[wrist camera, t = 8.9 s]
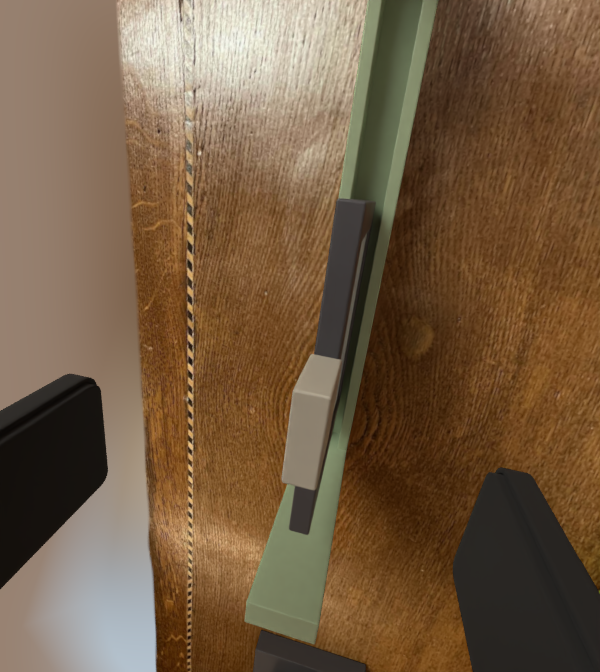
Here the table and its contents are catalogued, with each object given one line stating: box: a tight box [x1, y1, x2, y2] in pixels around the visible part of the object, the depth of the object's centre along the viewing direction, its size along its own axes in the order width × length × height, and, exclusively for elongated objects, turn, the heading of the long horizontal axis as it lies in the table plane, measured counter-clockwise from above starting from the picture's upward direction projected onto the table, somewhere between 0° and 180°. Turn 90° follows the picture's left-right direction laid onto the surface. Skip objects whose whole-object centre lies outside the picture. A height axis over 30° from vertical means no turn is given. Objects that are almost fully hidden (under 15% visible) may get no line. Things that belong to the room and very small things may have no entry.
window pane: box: [282, 198, 376, 535], centre depth 15 cm, size 1×12×12 cm, turn 174°
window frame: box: [245, 0, 438, 644], centre depth 15 cm, size 3×27×13 cm, turn 173°
